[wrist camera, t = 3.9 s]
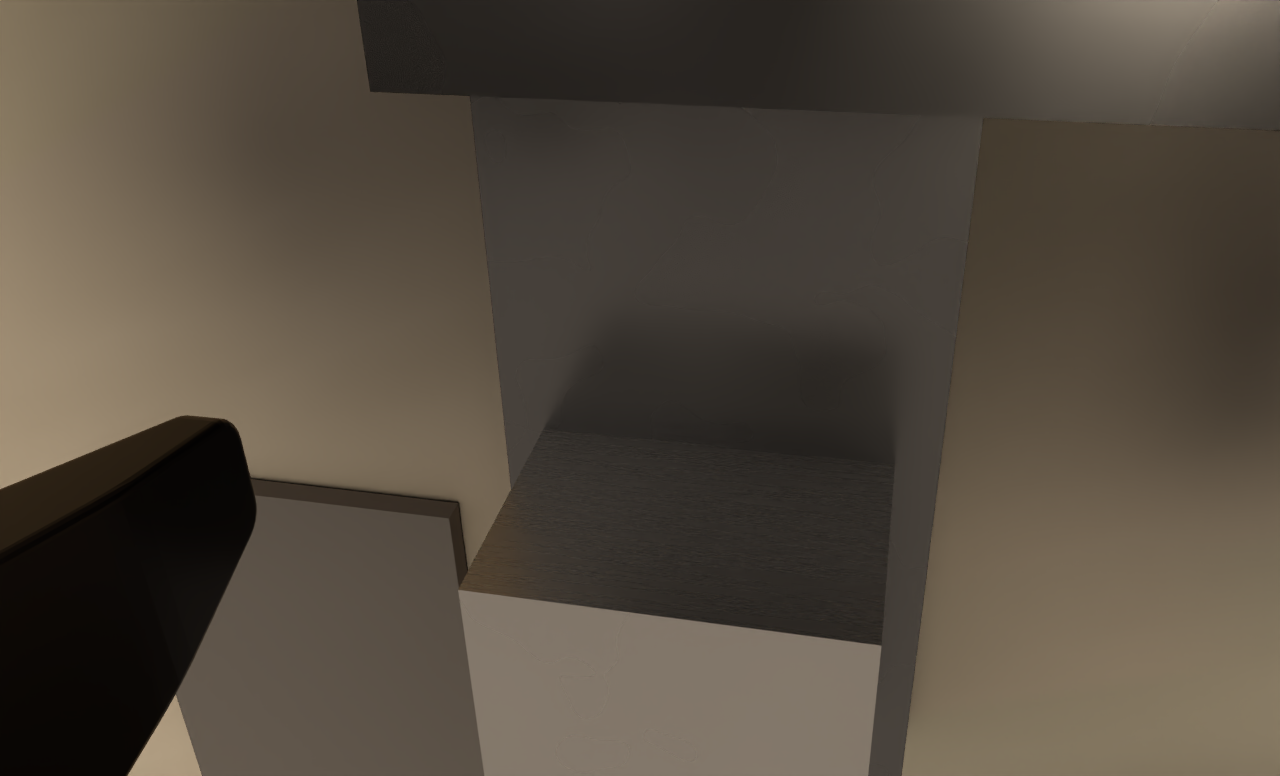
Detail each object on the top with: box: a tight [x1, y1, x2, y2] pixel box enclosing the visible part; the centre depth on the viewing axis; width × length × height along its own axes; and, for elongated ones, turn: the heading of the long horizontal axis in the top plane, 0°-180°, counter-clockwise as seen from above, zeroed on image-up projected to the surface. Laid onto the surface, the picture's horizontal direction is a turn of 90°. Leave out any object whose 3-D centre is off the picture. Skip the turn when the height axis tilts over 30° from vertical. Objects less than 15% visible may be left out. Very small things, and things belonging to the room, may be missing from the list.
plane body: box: [357, 0, 1280, 776], centre depth 13 cm, size 14×14×6 cm
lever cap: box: [458, 429, 895, 776], centre depth 14 cm, size 4×4×3 cm
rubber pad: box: [176, 479, 484, 776], centre depth 21 cm, size 8×6×1 cm
